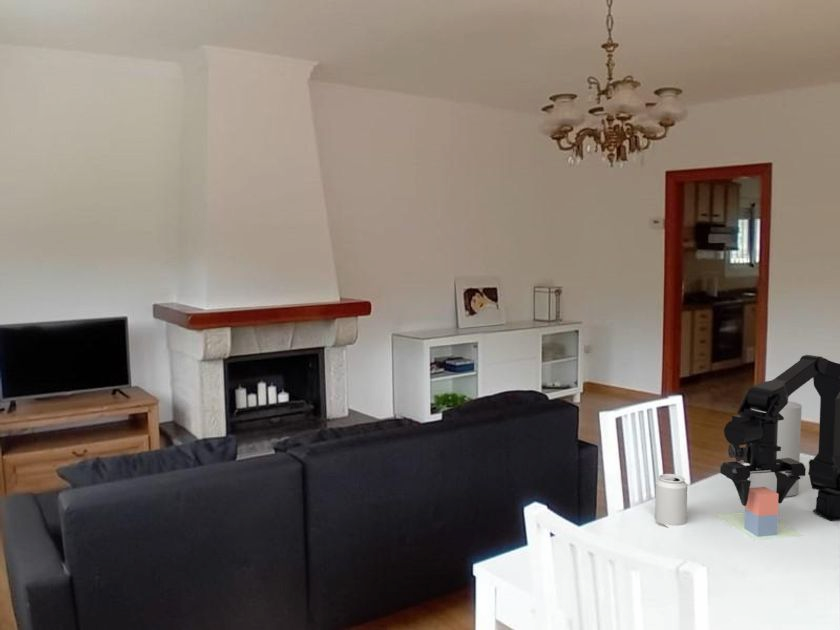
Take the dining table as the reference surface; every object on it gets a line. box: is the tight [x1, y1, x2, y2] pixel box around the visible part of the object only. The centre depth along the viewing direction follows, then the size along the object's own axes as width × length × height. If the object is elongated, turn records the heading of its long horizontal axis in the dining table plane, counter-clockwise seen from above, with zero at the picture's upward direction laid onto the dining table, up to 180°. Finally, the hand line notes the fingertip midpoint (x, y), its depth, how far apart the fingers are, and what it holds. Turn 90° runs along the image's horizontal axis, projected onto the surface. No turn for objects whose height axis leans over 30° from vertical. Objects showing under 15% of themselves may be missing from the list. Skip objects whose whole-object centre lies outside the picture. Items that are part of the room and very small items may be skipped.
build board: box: [714, 511, 805, 541], centre depth 171 cm, size 13×16×1 cm
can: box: [654, 473, 688, 529], centre depth 174 cm, size 8×8×12 cm
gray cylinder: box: [748, 400, 803, 498], centre depth 197 cm, size 12×12×25 cm
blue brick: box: [744, 508, 779, 537], centre depth 166 cm, size 5×5×5 cm
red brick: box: [744, 487, 779, 516], centre depth 166 cm, size 5×5×5 cm
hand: (761, 504), depth 166 cm, fingers open, 9 cm apart
